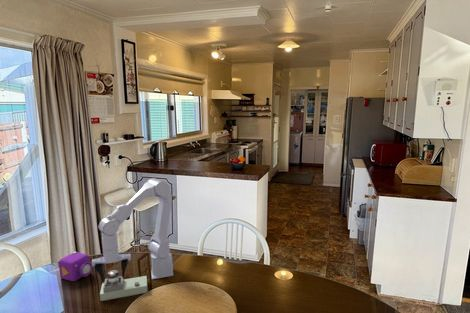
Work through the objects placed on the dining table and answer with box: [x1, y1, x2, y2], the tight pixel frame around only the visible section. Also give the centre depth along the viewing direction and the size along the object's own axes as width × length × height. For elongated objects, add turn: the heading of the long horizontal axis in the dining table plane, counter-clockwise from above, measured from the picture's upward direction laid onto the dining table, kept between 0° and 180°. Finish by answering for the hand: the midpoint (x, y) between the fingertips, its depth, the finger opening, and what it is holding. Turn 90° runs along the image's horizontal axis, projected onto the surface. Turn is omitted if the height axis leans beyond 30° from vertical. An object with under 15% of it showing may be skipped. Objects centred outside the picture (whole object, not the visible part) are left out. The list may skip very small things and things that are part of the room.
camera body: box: [99, 275, 148, 302], centre depth 127 cm, size 18×8×5 cm, turn 107°
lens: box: [107, 269, 120, 286], centre depth 125 cm, size 4×4×6 cm
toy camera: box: [58, 251, 93, 282], centre depth 139 cm, size 11×14×10 cm
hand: (113, 278), depth 125 cm, fingers open, 7 cm apart
